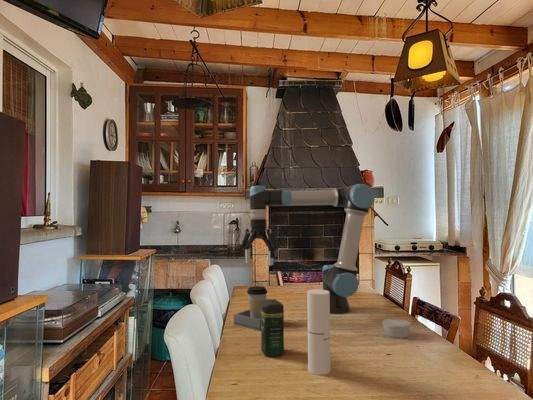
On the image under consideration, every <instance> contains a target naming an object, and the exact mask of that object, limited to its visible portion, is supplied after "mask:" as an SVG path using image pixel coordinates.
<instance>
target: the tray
mask: <svg viewBox="0 0 533 400" xmlns="http://www.w3.org/2000/svg"><path fill="white" fill-rule="evenodd" d="M233 325H235V326H238V327H243V328H248V329H251V330H256V331H259V332H260V331H261V319H256V318H252V317H251V316H250V310H249V308H248V309H245V310H243V311H240V312H236V313H234V314H233Z"/></svg>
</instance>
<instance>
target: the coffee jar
mask: <svg viewBox="0 0 533 400" xmlns="http://www.w3.org/2000/svg"><path fill="white" fill-rule="evenodd" d="M284 312H285V310H284V304H283V303H282V302H280V301H279V300H277V299H273V298H272V299H267V298H266V300H265V301H263V302H262V304H261V330H260V331H261V332H260V333H261V335H260V339H261V340H260V341H261V342H260V345H261V346H260V347H261V352H262V353H263V355H264V356H269V357H279V356H281V355H283V354H284V353H285V339H284V337H285V331H284V330H285V329H284V326H285V325H284V323H285V322H284V321H285V319H284V317H285V315H284V314H285V313H284Z"/></svg>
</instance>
